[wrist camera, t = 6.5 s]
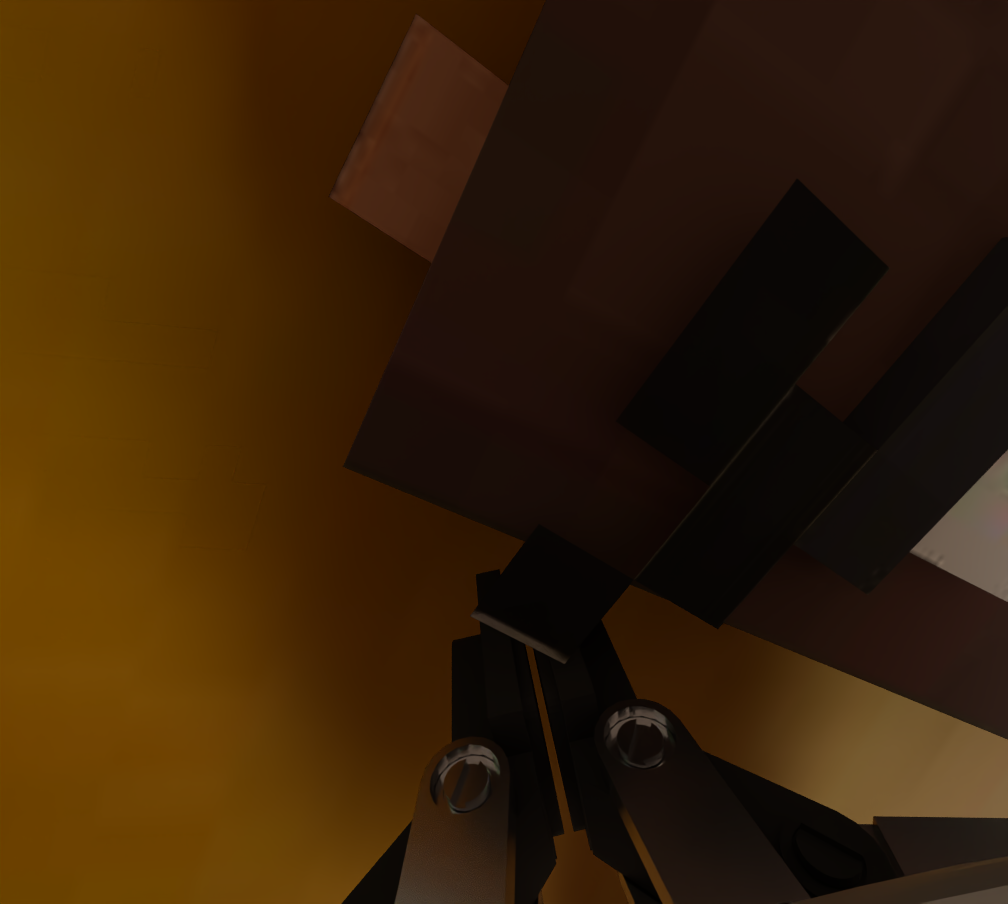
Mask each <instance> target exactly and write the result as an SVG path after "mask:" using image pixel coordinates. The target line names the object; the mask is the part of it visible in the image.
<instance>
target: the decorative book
mask: <svg viewBox="0 0 1008 904" xmlns="http://www.w3.org/2000/svg"><path fill="white" fill-rule="evenodd" d="M329 197H330V198H331V199H333V200H335V201H336V202H338V203H339V204H341V205H342V206H344V207H345V208H347V209H348V210H350V211H352V212H353V213H355V214H356V215H358V216H359V217H361V218H362V219H364V220H366V221H367V222H369V223H370V224H372V225H373V226H375V227H376V228H378V229H379V230H381V231H383V232H384V233H386V234H387V235H389V236H390V237H392V238H393V239H395V240H397V241H398V242H400V243H401V244H403V245H404V246H406V247H407V248H409V249H410V250H412V251H414V252H415V253H417V254H418V255H420V256H421V257H423V258H424V259H426V260H428V261H429V262H431V263H432V264H431V266H430V268H429V270H428V273H427V275H426V277H425V280H424V282H423V284H422V287H421V289H420V291H419V293H418V296H417V298H416V300H415V303H414V305H413V307H412V309H411V312H410V314H409V316H408V319H407V321H406V323H405V326H404V328H403V330H402V332H401V335H400V337H399V339H398V342H397V344H396V346H395V349H394V351H393V353H392V355H391V358H390V360H389V362H388V365H387V367H386V369H385V371H384V374H383V376H382V378H381V381H380V383H379V385H378V388H377V390H376V392H375V394H374V397H373V399H372V401H371V404H370V406H369V408H368V411H367V413H366V415H365V417H364V420H363V422H362V424H361V427H360V429H359V431H358V434H357V436H356V438H355V440H354V443H353V445H352V447H351V450H350V452H349V454H348V456H347V459H346V461H345V463H344V466H343V467H345V468H347V469H350V470H352V471H355V472H357V473H360V474H362V475H364V476H367V477H369V478H372V479H374V480H377V481H379V482H382V483H384V484H386V485H389V486H391V487H394V488H396V489H399V490H401V491H403V492H406V493H408V494H411V495H413V496H416V497H418V498H421V499H423V500H425V501H428V502H430V503H433V504H435V505H438V506H440V507H442V508H445V509H447V510H450V511H452V512H455V513H457V514H460V515H462V516H464V517H467V518H469V519H472V520H474V521H477V522H479V523H481V524H484V525H486V526H489V527H491V528H494V529H496V530H499V531H501V532H503V533H506V534H508V535H511V536H513V537H516V538H518V539H520V540H523V541H525V543H524V544H523V546H522V547H521V548H520V550H519V551H518V552H517V554H516V555H515V557H514V558H513V559H512V561H511V562H510V563H509V565H508V566H507V567H506V569H505V570H504V571H503V573H502V574H501V575H500V577H499V578H498V579H497V581H496V582H495V583H494V585H493V586H492V587H491V589H490V590H489V591H488V593H487V594H486V595H485V597H484V598H483V599H482V601H481V602H480V603H479V605H478V606H477V607H476V609H475V610H474V611H473V613H472V614H471V615H470V616H471V617H473V618H475V619H477V620H479V621H481V622H483V623H485V624H487V625H489V626H491V627H493V628H495V629H497V630H499V631H501V632H503V633H505V634H507V635H509V636H511V637H513V638H514V639H516V640H518V641H520V642H522V643H524V644H526V645H528V646H530V647H532V648H534V649H536V650H538V651H540V652H542V653H544V654H546V655H548V656H550V657H552V658H554V659H556V660H558V661H560V662H562V663H564V664H565V663H566V661H567V660H568V659H569V658H570V657H571V655H572V654H573V653H574V652H575V651H576V649H577V648H578V647H579V646H580V644H581V643H582V642H583V641H584V640H585V638H586V637H587V636H588V635H589V634H590V632H591V631H592V630H593V629H594V627H595V626H596V625H597V624H598V623H599V621H600V620H601V619H602V618H603V617H604V615H605V614H606V613H607V612H608V610H609V609H610V608H611V607H612V606H613V604H614V603H615V602H616V601H617V600H618V598H619V597H620V596H621V595H622V593H623V592H624V591H625V590H626V589H627V587H628V586H629V585H633V586H635V587H637V588H640V589H642V590H645V591H647V592H650V593H652V594H654V595H657V596H659V597H662V598H664V599H667V600H669V601H671V602H673V603H674V604H676V605H678V606H679V607H681V608H683V609H684V610H686V611H688V612H690V613H691V614H693V615H695V616H696V617H698V618H700V619H701V620H703V621H705V622H707V623H708V624H710V625H712V626H713V627H715V628H717V629H718V628H719V627H720V626H721V625H722V624H723V623H725V624H728V625H730V626H732V627H735V628H737V629H740V630H742V631H745V632H747V633H750V634H752V635H754V636H757V637H759V638H762V639H764V640H767V641H769V642H771V643H774V644H776V645H779V646H781V647H784V648H786V649H789V650H791V651H793V652H796V653H798V654H801V655H803V656H806V657H808V658H810V659H813V660H815V661H818V662H820V663H823V664H825V665H828V666H830V667H832V668H835V669H837V670H840V671H842V672H845V673H847V674H849V675H852V676H854V677H857V678H859V679H862V680H864V681H867V682H869V683H871V684H874V685H876V686H879V687H881V688H884V689H886V690H888V691H891V692H893V693H896V694H898V695H901V696H903V697H906V698H908V699H910V700H913V701H915V702H918V703H920V704H923V705H925V706H927V707H930V708H932V709H935V710H937V711H940V712H942V713H945V714H947V715H949V716H952V717H954V718H957V719H959V720H962V721H964V722H966V723H969V724H971V725H974V726H976V727H979V728H981V729H984V730H986V731H988V732H991V733H993V734H996V735H998V736H1001V737H1003V738H1005V739H1008V0H546V2H545V4H544V6H543V9H542V11H541V13H540V15H539V18H538V20H537V22H536V25H535V27H534V29H533V32H532V34H531V36H530V38H529V41H528V43H527V45H526V48H525V50H524V52H523V55H522V57H521V59H520V61H519V64H518V66H517V68H516V71H515V73H514V75H513V77H512V80H511V82H510V84H509V86H508V85H507V84H506V83H505V82H503V81H502V80H501V79H499V78H498V77H497V76H496V75H494V74H493V73H492V72H490V71H489V70H488V69H487V68H485V67H484V66H483V65H481V64H480V63H479V62H478V61H476V60H475V59H474V58H473V57H471V56H470V55H469V54H467V53H466V52H465V51H464V50H462V49H461V48H460V47H458V46H457V45H456V44H455V43H453V42H452V41H451V40H449V39H448V38H447V37H446V36H444V35H443V34H442V33H440V32H439V31H438V30H437V29H435V28H434V27H433V26H431V25H430V24H429V23H428V22H426V21H425V20H424V19H422V18H421V17H420V16H419V15H417V14H416V15H415V17H414V19H413V21H412V23H411V25H410V28H409V30H408V32H407V34H406V36H405V38H404V40H403V42H402V44H401V46H400V48H399V51H398V53H397V55H396V57H395V59H394V61H393V63H392V65H391V67H390V69H389V71H388V73H387V76H386V78H385V80H384V82H383V84H382V86H381V88H380V90H379V92H378V94H377V96H376V99H375V101H374V103H373V105H372V107H371V109H370V111H369V113H368V115H367V117H366V119H365V122H364V124H363V126H362V128H361V130H360V132H359V134H358V136H357V138H356V140H355V142H354V145H353V147H352V149H351V151H350V153H349V155H348V157H347V159H346V161H345V163H344V165H343V167H342V170H341V172H340V174H339V176H338V178H337V180H336V182H335V184H334V186H333V188H332V190H331V193H330V195H329Z"/></svg>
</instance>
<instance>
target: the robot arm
mask: <svg viewBox="0 0 1008 904" xmlns="http://www.w3.org/2000/svg"><path fill="white" fill-rule="evenodd" d="M499 577H500V571H499V569H498V570H494V571H489V572H485V573H480V574H476V582H477V594H478V605H479V603H480V602H481V601H482V599H483V598H484V597H485V595H486V594H487V593H488V591H489V590H490V589H491V587H492V586H493V585H494V583H495V582H496V581H497V579H498V578H499ZM480 630H481V634H479V635H475V636H470V637H466V638H462V639H457V640H453V642H452V743H450V744H448V745H446V746H444V747H443V748H442V749H441V750H440V751H439V752H438V753H437V754H435V755H434V756H433V758H432V759H431V761H430V762H429V764H428V765H427V767H426V768H425V771H424V774H423V776H422V779H421V782H420V787H419V792H418V797H417V801H416V806H415V811H414V815H413V820H412V821H411V822H410V823H409V825H408V826H407V827H406V828H405V829H404V831H403V832H402V833H401V834H400V835H399V836H398V838H397V839H396V840H395V841H394V842H393V844H392V845H391V846H390V847H389V848H388V849H387V851H386V852H385V853H384V854H383V855H382V857H381V858H380V859H379V860H378V861H377V862H376V864H375V865H374V866H373V867H372V868H371V870H370V871H369V872H368V873H367V874H366V875H365V877H364V878H363V879H362V880H361V881H360V883H359V884H358V885H357V886H356V887H355V888H354V890H353V891H352V892H351V893H350V894H349V896H348V897H347V898H346V899H345V900H344V901H343V903H342V904H544V903H543V896H542V890H541V889H542V887H543V886H544V884H545V882H546V880H547V879H548V877H549V875H550V874H551V872H552V870H553V868H554V867H555V865H556V860H555V859H557V856H556V850H555V845H554V839H553V836H558V835H562V834H564V830H563V825H562V820H561V815H560V810H559V805H558V800H557V796H556V791H555V786H554V781H553V776H552V771H551V766H550V762H549V757H548V752H547V747H546V742H545V737H544V732H543V728H542V723H541V718H540V713H539V708H538V703H537V699H536V694H535V689H534V684H533V679H532V674H531V670H530V665H529V661H528V656H527V651H526V647H525V644H524V643H522V642H520V641H518V640H516V639H514V638H513V637H511V636H509V635H507V634H505V633H503V632H501V631H499V630H497V629H495V628H493V627H491V626H489V625H487V624H485V623H483V622H481V621H480ZM533 650H534V655H535V660H536V664H537V669H538V674H539V678H540V683H541V687H542V692H543V696H544V700H545V705H546V709H547V714H548V718H549V723H550V727H551V732H552V736H553V741H554V745H555V749H556V754H557V758H558V763H559V767H560V772H561V776H562V781H563V785H564V789H565V794H566V798H567V803H568V807H569V812H570V816H571V821H572V825H573V829H574V831H578V830H582V829H586V833H587V837H588V842H589V846H590V850H592V851H593V855H595V856H596V857H598V858H599V859H601V860H602V861H604V862H605V863H607V864H608V865H610V866H611V867H613V868H614V869H615V870H617V872H618V876H619V879H620V883H621V886H622V888H623V890H624V893H625V895H626V897H627V900H628V902H629V904H1008V818H951V817H878V816H873V824H857V823H856V822H854V821H852V820H851V819H849V818H847V817H846V816H844V815H842V814H840V813H839V812H837V811H835V810H833V809H830V808H828V807H826V806H824V805H822V804H819V803H817V802H815V801H813V800H811V799H808V798H806V797H804V796H802V795H800V794H797V793H795V792H793V791H791V790H788V789H786V788H784V787H782V786H780V785H777V784H775V783H773V782H771V781H769V780H766V779H764V778H762V777H760V776H758V775H755V774H753V773H751V772H749V771H746V770H744V769H742V768H740V767H738V766H735V765H733V764H731V763H729V762H727V761H724V760H722V759H720V758H718V757H716V756H713V755H711V754H709V753H707V752H705V751H702V749H701V748H700V747H699V745H698V744H697V743H696V741H695V740H694V739H693V737H692V736H691V734H690V733H689V732H688V730H687V729H686V728H685V726H684V725H683V724H682V722H681V721H680V720H679V719H678V718H677V717H676V716H675V715H674V714H673V712H672V711H671V710H669V709H667V708H666V707H664V706H662V705H661V704H659V703H656V702H653V701H649V700H646V699H637V698H636V696H635V693H634V691H633V689H632V687H631V685H630V682H629V680H628V678H627V676H626V674H625V671H624V669H623V667H622V665H621V662H620V660H619V658H618V656H617V654H616V651H615V649H614V647H613V645H612V643H611V640H610V638H609V636H608V634H607V631H606V629H605V627H604V625H603V623H602V620H600V621H599V623H598V624H597V625H596V626H595V627H594V629H593V630H592V631H591V632H590V634H589V635H588V636H587V637H586V638H585V640H584V641H583V642H582V643H581V644H580V646H579V647H578V648H577V649H576V651H575V652H574V653H573V654H572V655H571V657H570V658H569V659H568V660H567V661H566V663H565V664H564V663H562V662H560V661H558V660H556V659H554V658H552V657H550V656H548V655H546V654H544V653H542V652H540V651H538V650H536V649H534V648H533Z"/></svg>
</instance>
